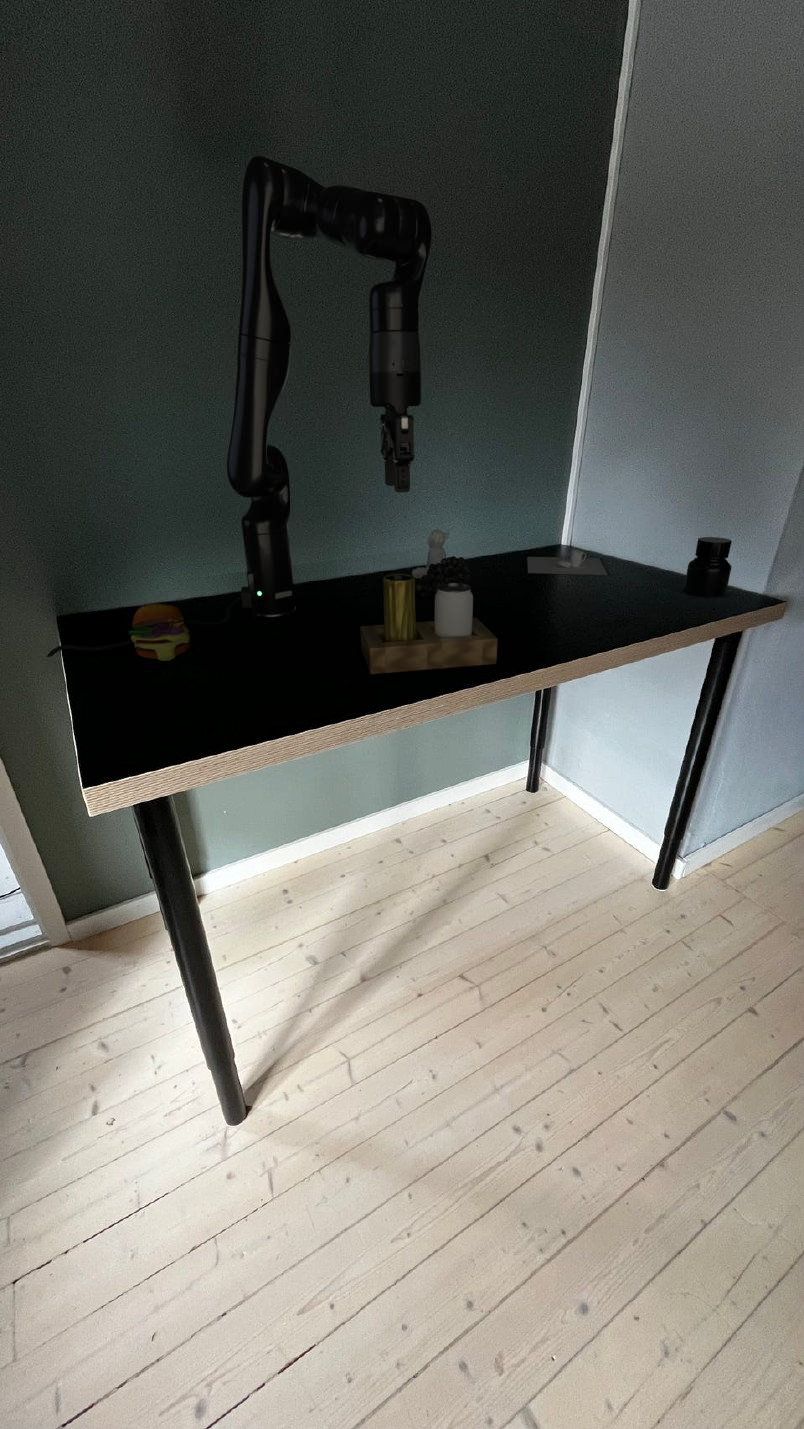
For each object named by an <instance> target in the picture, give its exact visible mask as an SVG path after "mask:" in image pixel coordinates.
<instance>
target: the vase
mask: <svg viewBox="0 0 804 1429" xmlns="http://www.w3.org/2000/svg"><path fill="white" fill-rule="evenodd" d="M382 581H383V582H382V583H383V586H382V587H383V625H384V642H397V641H410V640H417V632H416V622H417V614H416V613H417V612H416V591H415V584H416V578H415V577H414V576H413V575H412V574H409V573H402V572H401V573H399V572H398V573H390V574H386V575H384V576H383V580H382Z"/></svg>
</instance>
